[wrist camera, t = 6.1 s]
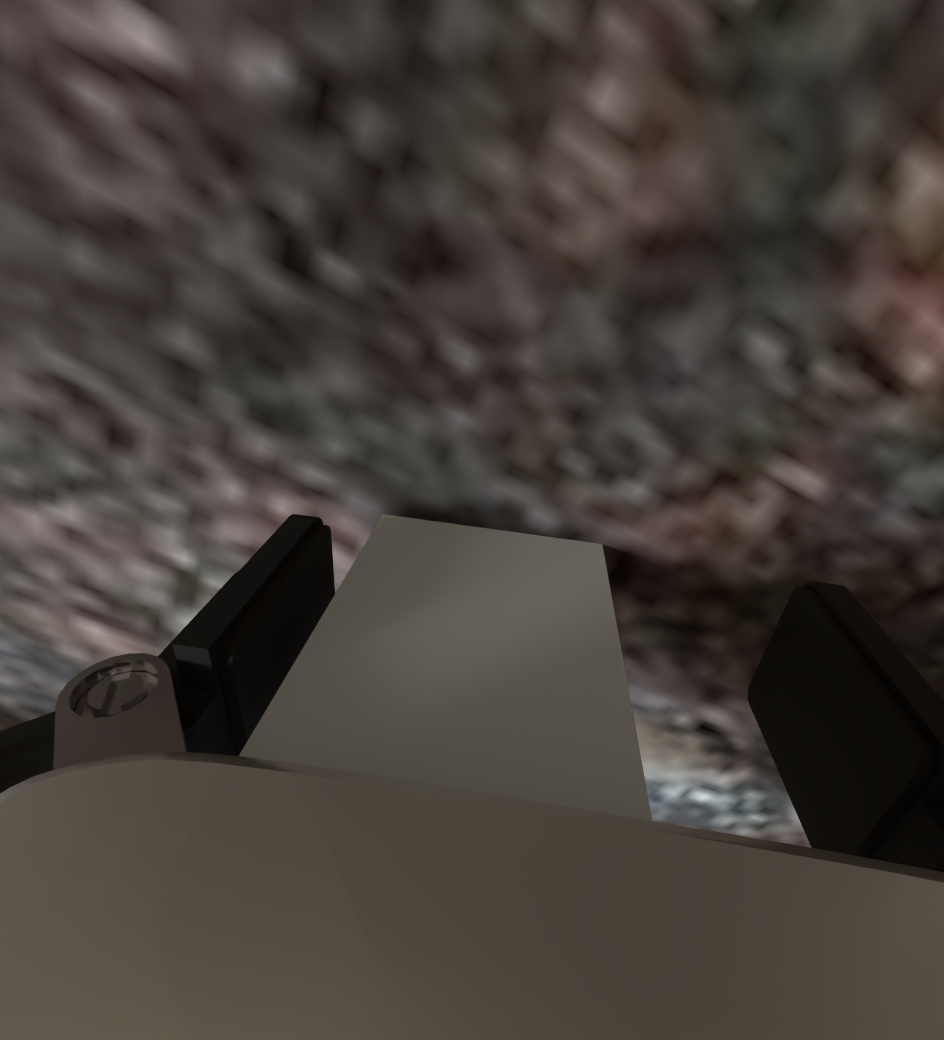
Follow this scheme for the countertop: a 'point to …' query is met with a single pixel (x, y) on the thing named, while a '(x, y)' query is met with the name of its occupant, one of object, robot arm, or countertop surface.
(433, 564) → the grey domino
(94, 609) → the countertop surface
